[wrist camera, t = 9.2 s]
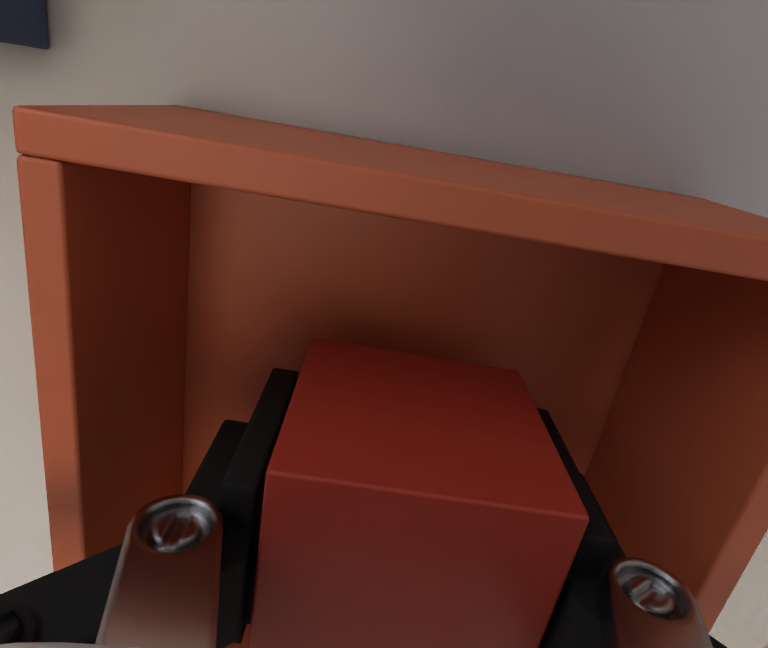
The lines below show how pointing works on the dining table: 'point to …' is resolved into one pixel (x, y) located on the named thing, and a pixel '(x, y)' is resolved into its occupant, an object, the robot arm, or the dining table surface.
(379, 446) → the red block
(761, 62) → the dining table surface
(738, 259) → the orange bin
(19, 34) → the blue block
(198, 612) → the robot arm
